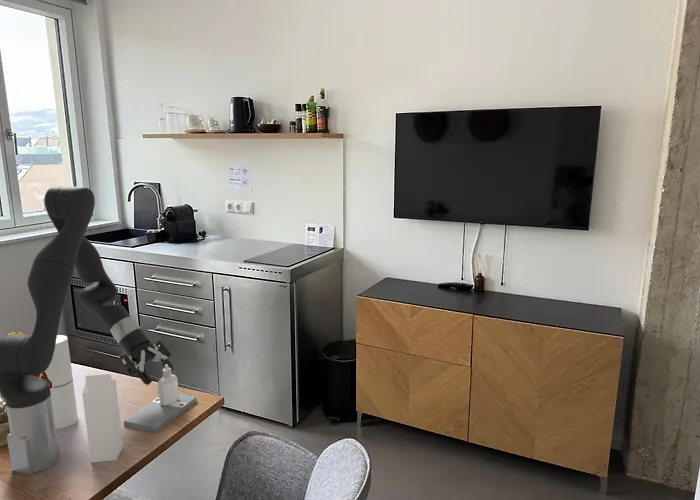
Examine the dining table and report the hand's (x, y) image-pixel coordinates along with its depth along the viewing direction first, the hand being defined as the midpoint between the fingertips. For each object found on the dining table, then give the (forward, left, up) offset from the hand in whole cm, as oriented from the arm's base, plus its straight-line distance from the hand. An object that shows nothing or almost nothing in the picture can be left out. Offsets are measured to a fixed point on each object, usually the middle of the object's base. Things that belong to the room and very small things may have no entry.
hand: (161, 377), depth 148 cm
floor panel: (-4, -2, -9) cm, 10 cm away
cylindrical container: (-17, +21, -9) cm, 28 cm away
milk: (-25, -3, -10) cm, 27 cm away
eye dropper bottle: (0, -2, -8) cm, 8 cm away
